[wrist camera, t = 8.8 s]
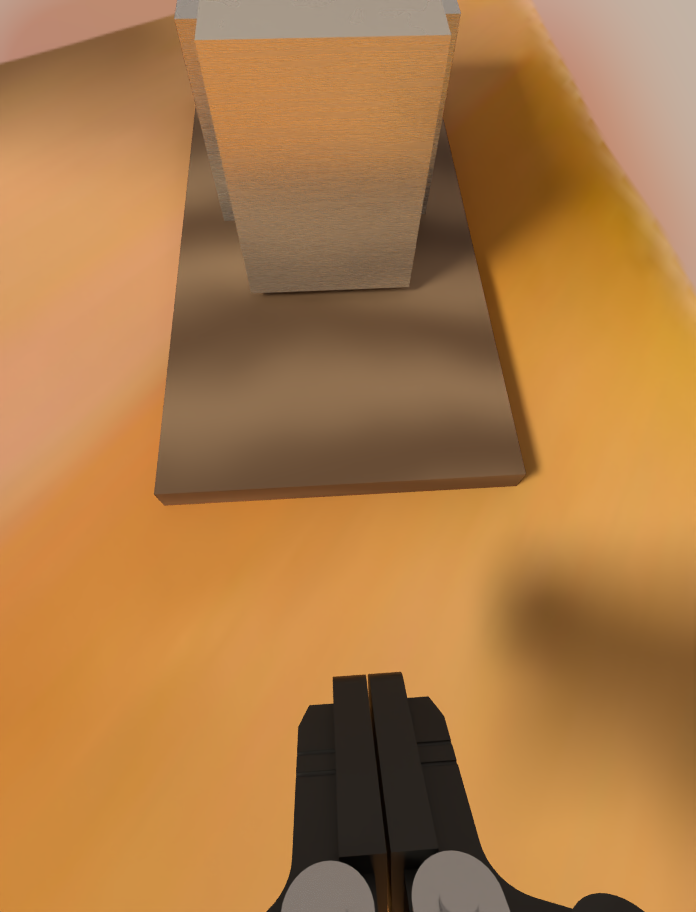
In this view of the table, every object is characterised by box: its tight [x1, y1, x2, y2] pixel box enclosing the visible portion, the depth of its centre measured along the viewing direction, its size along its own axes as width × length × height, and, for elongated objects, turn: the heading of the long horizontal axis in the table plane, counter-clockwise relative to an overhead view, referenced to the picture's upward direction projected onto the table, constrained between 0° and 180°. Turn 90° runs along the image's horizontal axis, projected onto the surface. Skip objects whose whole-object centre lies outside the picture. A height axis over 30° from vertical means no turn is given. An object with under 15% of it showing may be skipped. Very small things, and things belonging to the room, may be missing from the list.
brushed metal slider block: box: [194, 0, 451, 293], centre depth 22 cm, size 21×7×10 cm, turn 4°
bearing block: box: [174, 0, 461, 221], centre depth 24 cm, size 11×10×8 cm
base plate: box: [154, 108, 526, 505], centre depth 25 cm, size 27×14×1 cm, turn 4°
